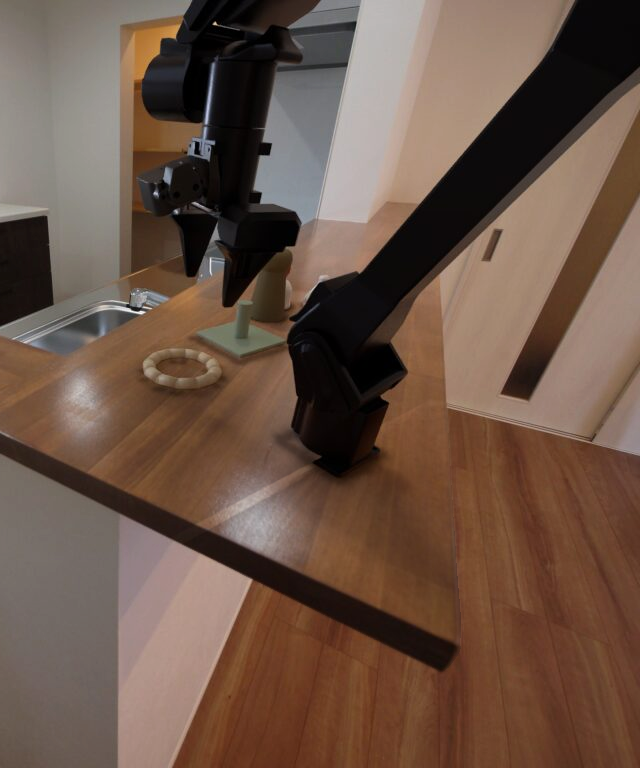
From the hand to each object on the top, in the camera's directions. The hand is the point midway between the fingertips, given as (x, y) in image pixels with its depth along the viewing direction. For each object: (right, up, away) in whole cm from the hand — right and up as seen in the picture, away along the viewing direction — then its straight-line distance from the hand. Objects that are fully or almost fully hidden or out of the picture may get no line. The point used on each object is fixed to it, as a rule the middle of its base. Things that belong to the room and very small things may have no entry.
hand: (207, 290), depth 47 cm
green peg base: (+7, -4, +14) cm, 17 cm away
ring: (-2, -8, +6) cm, 10 cm away
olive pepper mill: (+14, +1, +24) cm, 28 cm away
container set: (+25, +3, +28) cm, 37 cm away
